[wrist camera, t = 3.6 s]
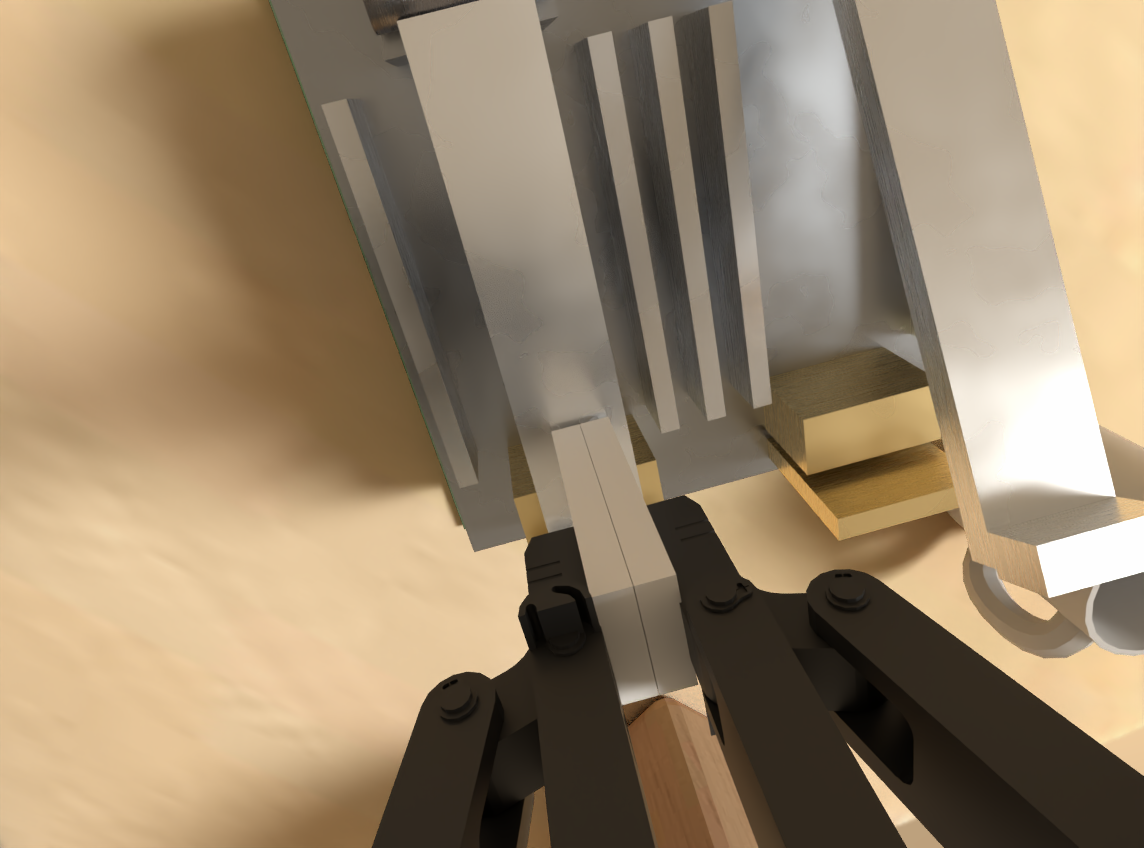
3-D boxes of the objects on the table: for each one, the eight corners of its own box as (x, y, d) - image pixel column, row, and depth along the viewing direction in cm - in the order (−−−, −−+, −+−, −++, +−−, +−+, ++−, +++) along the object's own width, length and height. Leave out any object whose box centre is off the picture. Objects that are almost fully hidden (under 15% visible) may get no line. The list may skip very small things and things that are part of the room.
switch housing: (464, 525, 30) (463, 711, 21) (261, -25, 20) (94, -126, 11) (892, 408, 30) (1074, 541, 21) (889, -181, 21) (1215, -399, 12)
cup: (1104, 420, 32) (1312, 524, 24) (986, 581, 36) (1133, 717, 28) (992, 378, 30) (1177, 476, 22) (878, 552, 34) (1003, 691, 26)
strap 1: (542, 562, 20) (549, 614, 18) (360, -26, 14) (338, -56, 12) (663, 529, 20) (685, 577, 18) (538, -71, 14) (549, -108, 12)
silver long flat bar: (947, 573, 15) (1023, 604, 12) (774, -111, 14) (820, -216, 12) (1109, 528, 15) (1215, 551, 13) (943, -154, 14) (1022, -265, 12)
